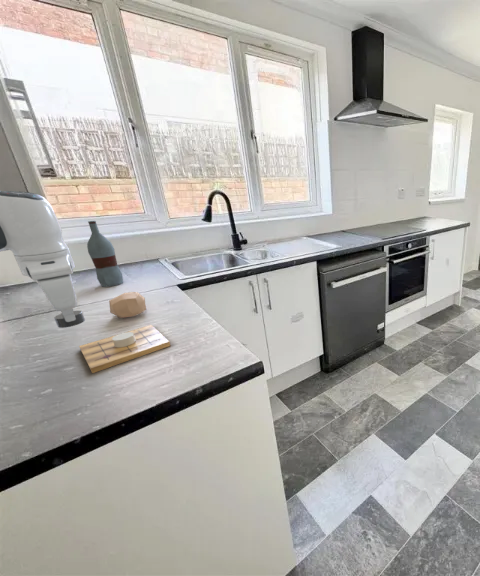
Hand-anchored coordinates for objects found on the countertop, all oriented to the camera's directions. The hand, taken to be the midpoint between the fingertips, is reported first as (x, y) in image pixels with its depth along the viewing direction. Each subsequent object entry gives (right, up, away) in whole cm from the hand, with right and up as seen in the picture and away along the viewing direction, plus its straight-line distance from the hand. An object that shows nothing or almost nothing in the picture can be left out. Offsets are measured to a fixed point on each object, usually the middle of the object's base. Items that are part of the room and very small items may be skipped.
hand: (69, 317), depth 77 cm
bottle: (-53, +9, +72) cm, 90 cm away
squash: (-18, -2, +41) cm, 44 cm away
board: (+1, -11, +15) cm, 19 cm away
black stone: (0, -2, +1) cm, 2 cm away
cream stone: (+1, -9, +15) cm, 18 cm away
